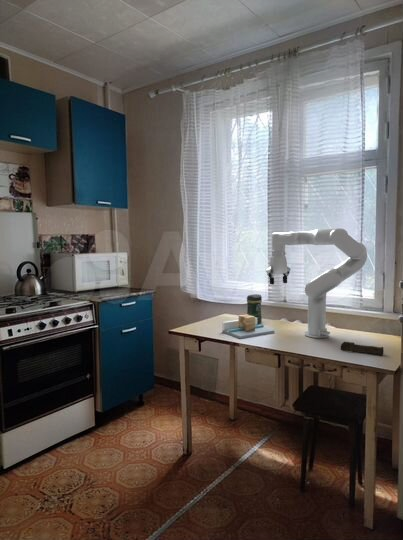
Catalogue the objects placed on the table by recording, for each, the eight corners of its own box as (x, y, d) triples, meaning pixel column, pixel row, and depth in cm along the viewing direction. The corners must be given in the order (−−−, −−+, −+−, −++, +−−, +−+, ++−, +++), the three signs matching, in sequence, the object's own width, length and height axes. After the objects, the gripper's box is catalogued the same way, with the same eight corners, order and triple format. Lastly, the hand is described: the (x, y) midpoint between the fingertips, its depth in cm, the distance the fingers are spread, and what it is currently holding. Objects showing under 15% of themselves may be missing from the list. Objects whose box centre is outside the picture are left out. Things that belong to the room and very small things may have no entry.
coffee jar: (254, 325, 243) (253, 296, 242) (244, 323, 249) (244, 294, 248) (264, 322, 250) (263, 294, 248) (254, 320, 256) (254, 293, 254)
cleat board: (274, 332, 223) (274, 322, 223) (240, 338, 211) (239, 328, 211) (255, 326, 239) (255, 317, 238) (222, 332, 227) (222, 322, 227)
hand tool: (384, 354, 181) (384, 344, 180) (382, 356, 177) (383, 347, 177) (342, 349, 191) (342, 339, 191) (340, 351, 188) (340, 341, 187)
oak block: (255, 330, 224) (254, 316, 224) (246, 331, 221) (246, 317, 221) (246, 327, 231) (246, 314, 230) (238, 328, 228) (238, 315, 228)
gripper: (285, 253, 229) (285, 282, 231) (262, 254, 221) (262, 284, 222) (294, 253, 223) (294, 283, 224) (270, 254, 214) (270, 285, 216)
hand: (278, 283), depth 223 cm, fingers open, 9 cm apart
